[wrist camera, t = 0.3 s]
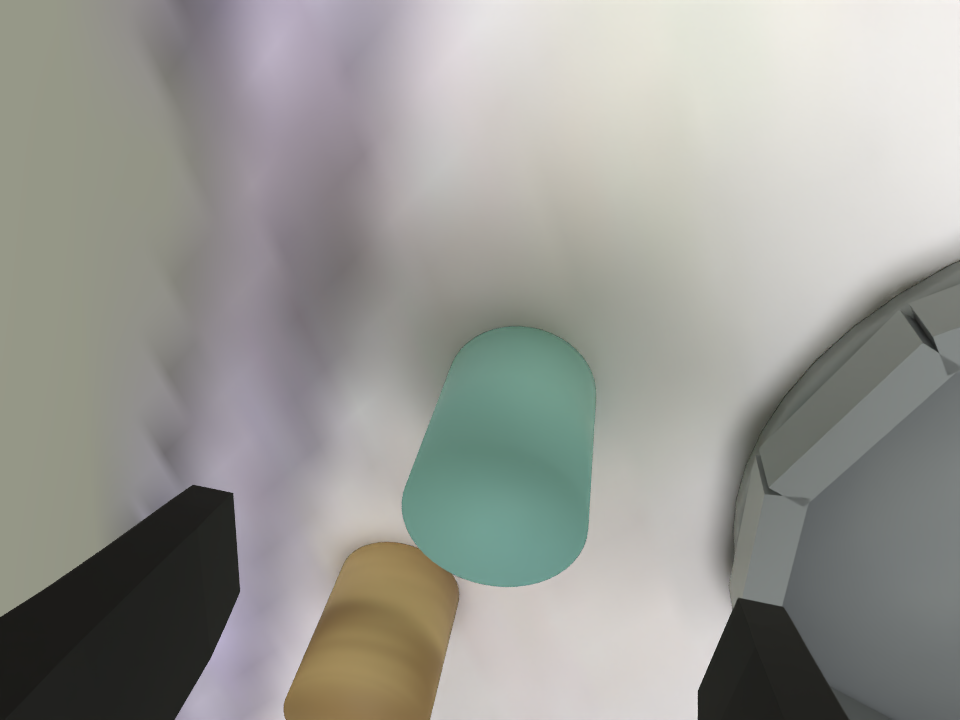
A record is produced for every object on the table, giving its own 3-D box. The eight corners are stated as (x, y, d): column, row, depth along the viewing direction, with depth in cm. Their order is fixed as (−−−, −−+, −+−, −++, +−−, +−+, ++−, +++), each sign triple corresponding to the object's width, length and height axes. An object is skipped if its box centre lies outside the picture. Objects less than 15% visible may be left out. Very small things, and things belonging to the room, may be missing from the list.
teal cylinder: (591, 457, 21) (583, 596, 17) (451, 445, 22) (408, 576, 17) (600, 330, 19) (593, 451, 15) (444, 322, 20) (393, 436, 15)
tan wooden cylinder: (461, 635, 26) (428, 778, 21) (348, 621, 26) (294, 758, 22) (456, 548, 24) (419, 688, 19) (334, 536, 24) (272, 668, 20)
